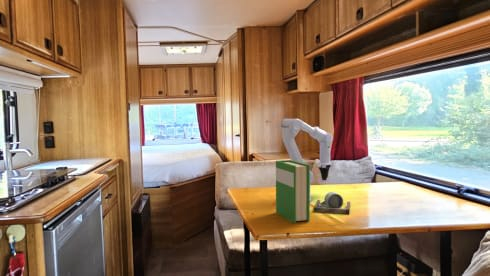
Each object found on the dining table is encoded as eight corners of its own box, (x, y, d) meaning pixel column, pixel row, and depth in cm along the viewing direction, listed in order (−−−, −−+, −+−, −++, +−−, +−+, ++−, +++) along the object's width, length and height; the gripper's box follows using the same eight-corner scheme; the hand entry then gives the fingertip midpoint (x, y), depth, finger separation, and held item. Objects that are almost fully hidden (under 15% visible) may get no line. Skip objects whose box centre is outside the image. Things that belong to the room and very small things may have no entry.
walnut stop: (313, 211, 168) (313, 207, 168) (317, 203, 182) (317, 200, 182) (349, 214, 163) (349, 209, 163) (350, 206, 178) (350, 201, 178)
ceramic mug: (338, 205, 179) (337, 190, 179) (343, 209, 171) (343, 193, 170) (316, 206, 178) (316, 190, 178) (321, 210, 170) (321, 194, 170)
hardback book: (309, 221, 153) (309, 164, 151) (293, 223, 150) (293, 165, 149) (290, 211, 169) (290, 160, 168) (276, 212, 167) (275, 160, 165)
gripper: (331, 156, 191) (331, 181, 192) (333, 153, 205) (333, 177, 206) (317, 155, 193) (317, 181, 194) (320, 152, 207) (320, 176, 208)
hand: (324, 178), depth 200 cm, fingers open, 7 cm apart
